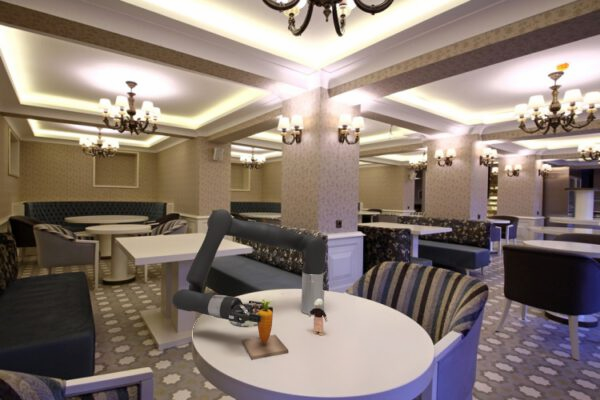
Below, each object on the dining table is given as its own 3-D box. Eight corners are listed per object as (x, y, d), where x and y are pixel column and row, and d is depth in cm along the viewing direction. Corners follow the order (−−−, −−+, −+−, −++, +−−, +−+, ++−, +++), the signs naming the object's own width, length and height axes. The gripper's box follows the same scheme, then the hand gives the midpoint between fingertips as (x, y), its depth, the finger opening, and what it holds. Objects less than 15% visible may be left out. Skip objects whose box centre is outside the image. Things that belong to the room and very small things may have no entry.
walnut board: (275, 337, 110) (275, 334, 110) (288, 352, 100) (288, 349, 100) (242, 342, 105) (242, 339, 105) (251, 359, 95) (251, 356, 95)
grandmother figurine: (329, 332, 116) (330, 298, 116) (326, 336, 112) (327, 301, 112) (309, 329, 118) (310, 296, 118) (306, 333, 115) (307, 298, 115)
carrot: (257, 341, 105) (258, 296, 105) (271, 341, 105) (273, 296, 105) (256, 348, 100) (257, 301, 100) (271, 348, 100) (273, 301, 100)
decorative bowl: (261, 330, 117) (269, 315, 132) (261, 320, 117) (269, 306, 132) (222, 327, 119) (235, 313, 134) (223, 317, 119) (235, 304, 134)
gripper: (212, 302, 101) (257, 310, 96) (236, 291, 115) (276, 297, 109) (212, 325, 101) (256, 334, 96) (235, 311, 115) (275, 318, 109)
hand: (266, 314), depth 102 cm, fingers open, 8 cm apart
